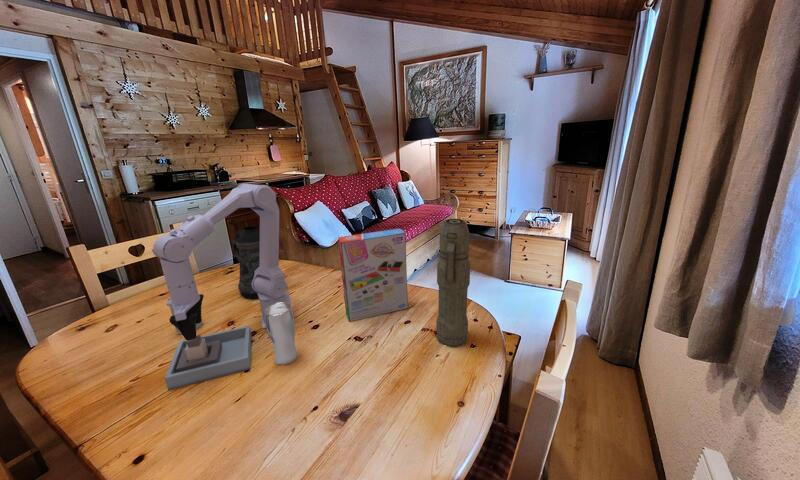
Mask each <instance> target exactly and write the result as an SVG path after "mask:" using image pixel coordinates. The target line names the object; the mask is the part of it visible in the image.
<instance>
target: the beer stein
mask: <svg viewBox="0 0 800 480" xmlns="http://www.w3.org/2000/svg"><path fill="white" fill-rule="evenodd" d="M231 248H232V252H233V254H234V256H235V258H236V260H237V261H238V263H239V282H238V286H237V287H238V291H239V293H240V295H241V297H242V298H243V299H246V300H252V301H253V300H259V296H258V294H257V292H255V291H254V290H253V288H252V281H253V279H254V275H255V270H256V269H257V268H258V267H259V266H260V229H259V228H258V227H257V226H247V227H243V230H238V231H236V233H235V237H234V238H233V240H232V244H231Z"/></svg>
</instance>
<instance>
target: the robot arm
mask: <svg viewBox="0 0 800 480" xmlns="http://www.w3.org/2000/svg"><path fill="white" fill-rule="evenodd" d="M243 208H250V209H251V210H253V212H255V213H256V214H257V215H258V216H259V230H260V266H259V267H258V268H257V269H256V270H255V275H254V279H253V281H252V288H253V290H254V291H255V292H257V294H258V296H259V299H258V301H259V305H260V311H261V329H267V328H266V321H265V312H264V311H265V309H266V308H267V307H268V306H270V305H272V304H275V303H280V302H286V303H289V304H291V307H292V311H293V314H294V312H295V311H294V307H293V306H292V301H291V299H292V298H291V294H290V291H287V290H288V289H287V288H288V284H287V283H288V282H287V281H286V277H285V273H284V271H283V270H282V268H280V267H279V266H280V265H279V261H280V260H279V259H280V258H279V255H280V208H279V204H278V203H277V193H276V191H274V190H273V189H272V188H271V187H270V186H268V185H266V184H254V183H253V184H251V183H246V182H244V183H241V184H239V185H238V186H237V187H234V188H232V190H230V192H229V193H228V194H227V195H226V196H224V198H222V199H221V200H220V201H219V202H217V204H215V205H214V206H213V207H211V208H210V209H209V210H208V211H207V212H206V213H204V214H195V215H189V216H188V217H186V220H187V221H184V223H181V225H179V226H178V227H177V228H175V229H174V228H173V229H171V230H169V234H166V235H165V234H164V235H161V236H159V237H158V238H156V240H155V241H154V243H153V246H152V247H153V248H152V249H151V252H152V254H153V255H154V256H156V257H157V258H159V262H160V264H161V268H162V269H161V270H162V272H163V276H164V280H165V283H166V286H167V290H168V294H169V298H171V300H169V301H168V300H167V301H166V303H165V305H166V306H167V307H170V306H172V307H173V309H174V311H175V313H174V316H172V315H170V318H169V323H170V324H171V325H172V326H174V328H175V327H176V328H178V330H179V331H180V332H181V334H180V335H182V337H183V338H184V340H185V339H186V340H192V339H195V338H196V336H197V329H196V324H197V323H201V318H202V303H203V300H204V294H203V293H199V292H198V288H197V283H196V280H195V276H194V272H193V268H192V264H191V260H190V256H191V255H192V253H193V249H194V248H195V247H196V246H197V245H199V243H201V242H202V241H203V240H205V239H206V238H207V237H208V236H210V235H211V234H212V233H213V232H214V230H215V225H217V223H219V222H221V221H222V220H223V219H225V218H226V217H228V216H229V215H231V214H232V213H234V212H235V211H237V210H238V209H243Z"/></svg>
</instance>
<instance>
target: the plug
mask: <svg viewBox="0 0 800 480" xmlns="http://www.w3.org/2000/svg"><path fill="white" fill-rule="evenodd" d="M201 336H202V335H200V334H199V335H196V338H195V339H192V340H188V341H187V346H186V349H185V352H186V355H187V359H188V362H189V361H193V360H197V359H202V358H206V357H209V353H208V349H207V346H206V342H205V338H203V339H201Z"/></svg>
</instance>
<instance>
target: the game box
mask: <svg viewBox="0 0 800 480" xmlns="http://www.w3.org/2000/svg"><path fill="white" fill-rule="evenodd" d="M337 239H338V241H337V242H338V250H339V258H340V259H339V261H340V268H341V276H342V277H341V278H342V279H341V280H342V287H343V289H342V290H343V297H344V307H345V315H346V317H347V321H348V323H349V322H355V321H357V320H358V321H359V320H362V319H367V318H372V317H376V316H380V315H384V314H389V313H393V312H397V311H402V310H406V309H409V296H408V295H409V294H408V293H409V292H408V275H407V271H408V270H407V245H406V244H407V243H406V242H407V240H406V239H407V237H406V232H405V231H404V230H403V229H401V228H394V229H387V230H380V231H374V232H372V231H371V232H365V233H360V234H358V233H357V234H353V235H344V236H338V238H337Z"/></svg>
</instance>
